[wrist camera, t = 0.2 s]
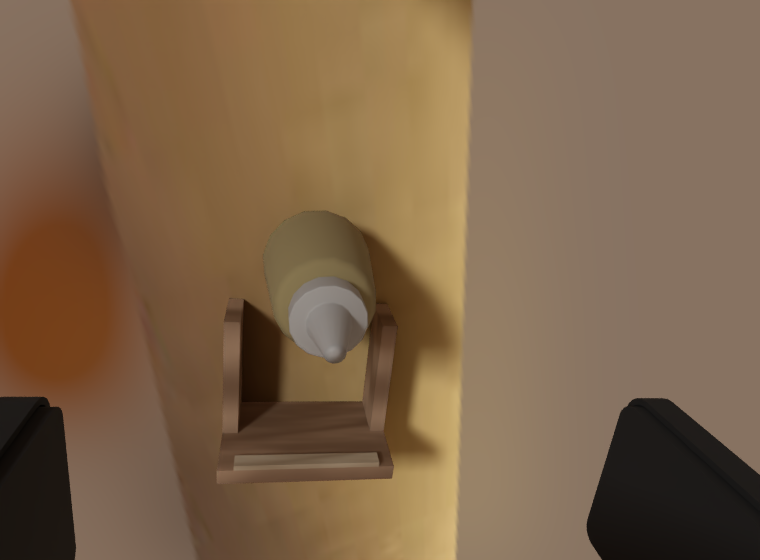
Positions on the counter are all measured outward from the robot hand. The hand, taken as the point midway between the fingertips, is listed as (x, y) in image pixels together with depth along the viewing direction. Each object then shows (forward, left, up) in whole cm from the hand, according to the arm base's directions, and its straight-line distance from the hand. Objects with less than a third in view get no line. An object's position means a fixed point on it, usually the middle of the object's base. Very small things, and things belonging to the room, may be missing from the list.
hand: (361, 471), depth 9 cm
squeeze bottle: (+7, +2, -36) cm, 36 cm away
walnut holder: (+18, +2, -35) cm, 40 cm away
